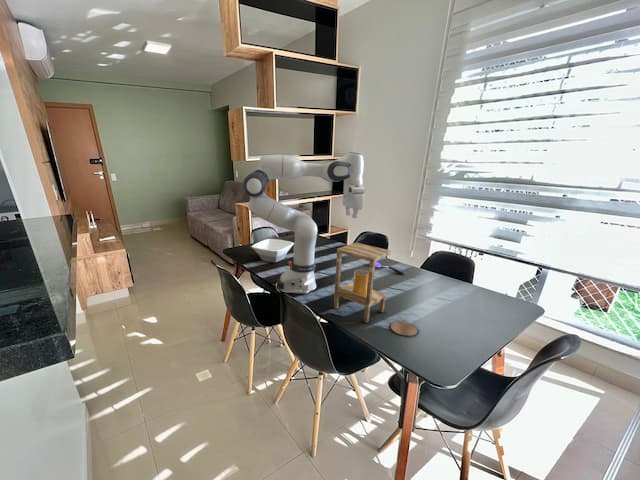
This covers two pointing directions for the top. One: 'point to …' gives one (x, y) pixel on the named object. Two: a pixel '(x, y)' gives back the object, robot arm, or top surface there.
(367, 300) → the rack
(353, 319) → the top surface
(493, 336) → the top surface
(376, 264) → the spatula
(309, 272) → the robot arm
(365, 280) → the cup
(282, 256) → the bowl
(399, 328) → the coaster
